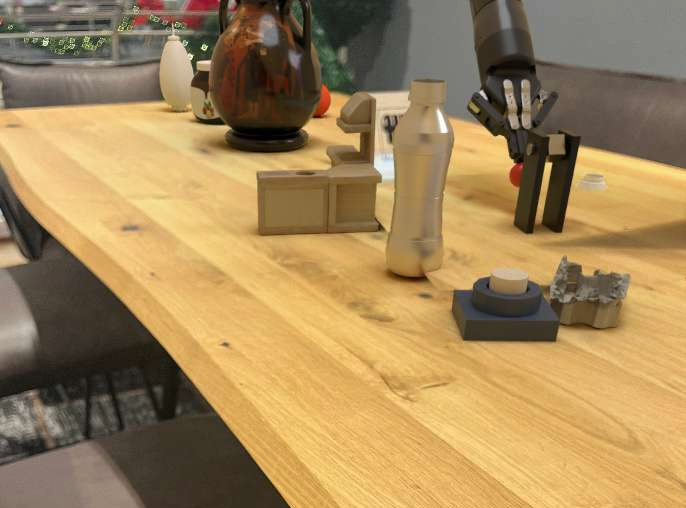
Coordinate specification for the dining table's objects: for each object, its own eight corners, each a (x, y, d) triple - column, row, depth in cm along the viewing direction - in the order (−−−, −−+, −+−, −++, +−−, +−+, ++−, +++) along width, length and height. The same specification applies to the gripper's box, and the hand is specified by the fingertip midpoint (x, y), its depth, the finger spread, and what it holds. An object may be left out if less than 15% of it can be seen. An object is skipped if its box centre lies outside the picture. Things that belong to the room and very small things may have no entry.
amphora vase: (339, 140, 154) (344, -28, 138) (288, 160, 139) (287, -26, 122) (248, 130, 162) (243, -30, 146) (190, 148, 147) (176, -29, 130)
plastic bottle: (434, 287, 86) (455, 86, 74) (376, 279, 88) (388, 82, 76) (446, 269, 91) (468, 78, 79) (391, 262, 93) (404, 75, 81)
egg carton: (554, 289, 86) (561, 252, 83) (624, 299, 84) (634, 262, 81) (539, 322, 78) (547, 283, 75) (616, 334, 75) (627, 294, 73)
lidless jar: (612, 199, 119) (597, 191, 123) (616, 179, 117) (601, 171, 121) (582, 200, 118) (568, 192, 122) (586, 179, 116) (572, 172, 120)
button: (521, 284, 76) (524, 267, 75) (529, 297, 74) (532, 279, 72) (485, 284, 76) (488, 266, 75) (492, 297, 74) (495, 279, 72)
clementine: (319, 112, 182) (320, 79, 178) (339, 116, 178) (341, 82, 174) (294, 116, 178) (294, 81, 174) (314, 120, 174) (315, 84, 170)
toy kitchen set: (247, 199, 116) (243, 87, 107) (355, 196, 118) (360, 86, 109) (260, 236, 101) (257, 109, 92) (383, 231, 103) (391, 107, 94)
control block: (536, 311, 80) (543, 273, 78) (556, 342, 74) (564, 302, 71) (451, 309, 80) (455, 272, 78) (463, 341, 74) (468, 301, 71)
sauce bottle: (181, 114, 178) (173, 24, 167) (156, 111, 181) (147, 22, 171) (202, 110, 183) (197, 22, 173) (177, 107, 186) (170, 20, 176)
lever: (506, 191, 105) (504, 167, 105) (527, 190, 106) (526, 167, 106) (545, 157, 94) (543, 131, 93) (569, 157, 94) (568, 130, 94)
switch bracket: (500, 231, 104) (516, 128, 96) (549, 229, 105) (568, 127, 97) (520, 247, 98) (539, 139, 91) (571, 244, 99) (593, 137, 92)
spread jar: (187, 121, 170) (182, 61, 164) (220, 114, 178) (217, 57, 171) (228, 127, 165) (225, 66, 158) (260, 120, 173) (259, 61, 166)
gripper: (466, 25, 101) (485, 143, 99) (559, 25, 103) (581, 141, 100) (449, 66, 109) (466, 177, 106) (536, 65, 111) (556, 175, 108)
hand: (522, 159), depth 103 cm, fingers closed
